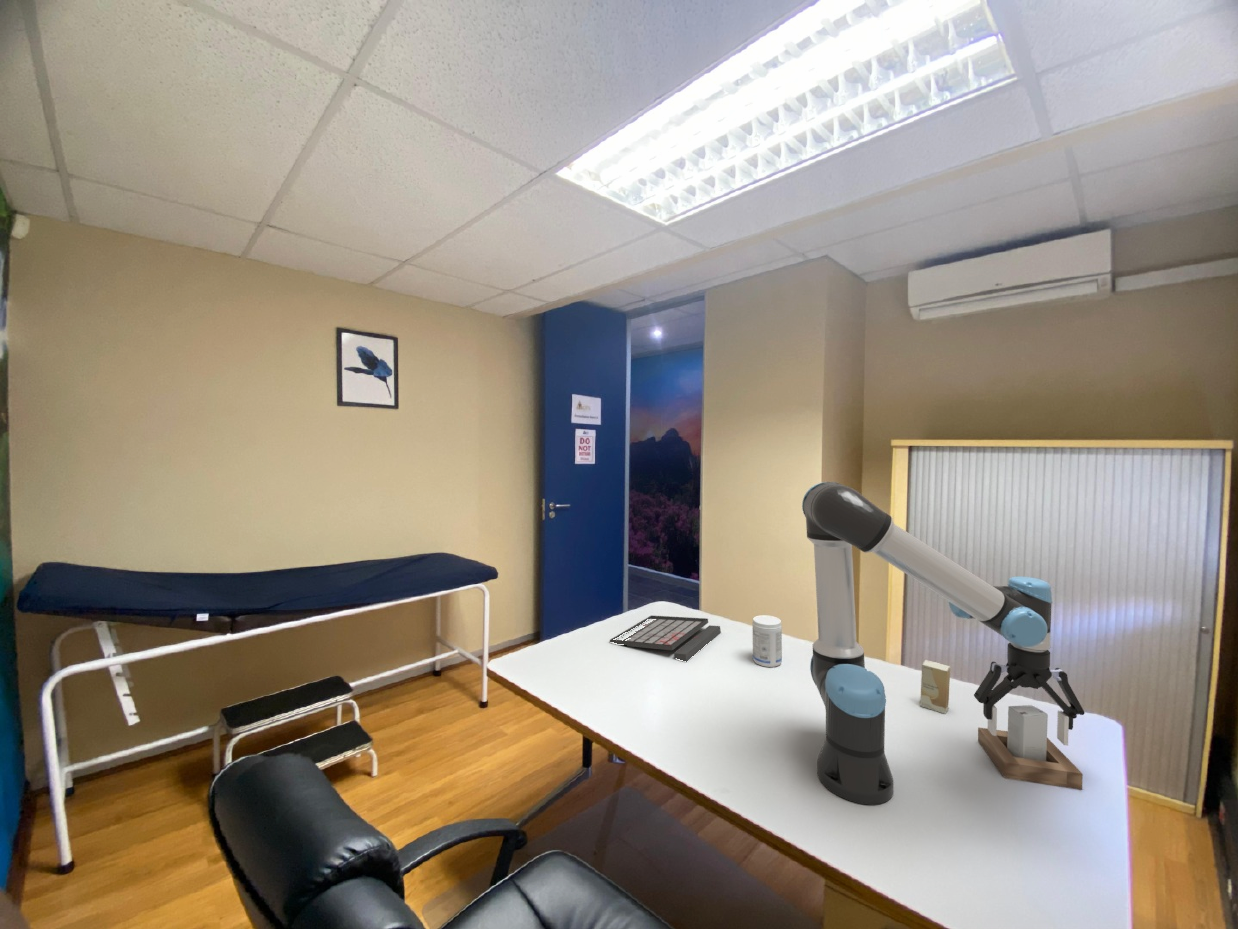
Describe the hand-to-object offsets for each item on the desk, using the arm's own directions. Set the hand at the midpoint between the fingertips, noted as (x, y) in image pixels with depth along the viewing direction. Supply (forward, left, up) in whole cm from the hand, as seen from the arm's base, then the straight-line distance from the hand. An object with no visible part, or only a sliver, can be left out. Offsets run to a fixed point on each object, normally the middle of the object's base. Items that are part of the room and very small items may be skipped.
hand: (1026, 737), depth 113 cm
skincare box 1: (-12, +22, -6) cm, 26 cm away
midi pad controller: (-94, +52, -7) cm, 108 cm away
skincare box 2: (0, 0, -6) cm, 6 cm away
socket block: (0, 0, -6) cm, 6 cm away
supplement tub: (-57, +40, -6) cm, 70 cm away
